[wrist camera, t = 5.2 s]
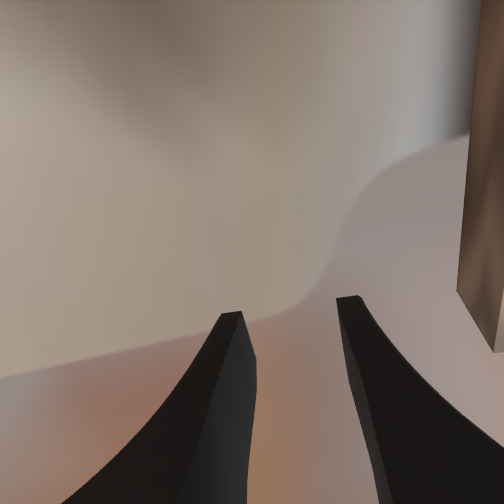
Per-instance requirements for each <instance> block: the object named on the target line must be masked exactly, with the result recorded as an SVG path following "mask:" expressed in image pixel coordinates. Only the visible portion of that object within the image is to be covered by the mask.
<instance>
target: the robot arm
mask: <svg viewBox="0 0 504 504" xmlns="http://www.w3.org/2000/svg"><path fill="white" fill-rule="evenodd" d="M336 301H337V308H338V316H339V323H340V330H341V336H342V343H343V350H344V355H345V362H346V368H347V373H348V379H349V384H350V388H351V391H352V395H353V398H354V402H355V406H356V409H357V412H358V416H359V420H360V424H361V427H362V431H363V434H364V438H365V441H366V445H367V449H368V452H369V456H370V460H371V464H372V469H373V473H374V478H375V484H376V489H377V494H378V500H379V504H504V447H503V446H501V445H500V444H498V443H497V442H496V441H495V440H493V439H492V438H491V437H490V436H488V435H487V434H486V433H485V432H483V431H482V430H481V429H480V428H478V427H477V426H476V425H475V424H473V423H472V422H471V421H470V420H468V419H467V418H466V417H465V416H463V415H462V414H461V413H460V412H459V411H458V410H457V409H455V408H454V407H453V406H452V405H451V404H450V403H449V402H448V401H446V400H445V399H444V398H443V397H442V396H441V395H440V394H439V393H438V392H437V391H436V390H435V389H434V388H433V387H432V386H431V385H429V383H428V382H427V381H426V380H425V379H424V378H422V376H421V375H420V374H419V373H418V372H417V371H416V370H415V369H414V368H413V367H412V366H411V365H410V363H408V361H407V360H406V359H405V358H404V357H403V356H402V355H401V353H400V352H399V351H398V350H397V349H396V347H395V346H394V345H393V344H392V343H391V341H390V340H389V339H388V337H387V336H386V335H385V333H384V332H383V331H382V329H381V328H380V327H379V325H378V324H377V323H376V321H375V320H374V318H373V317H372V315H371V313H370V312H369V310H368V309H367V307H366V305H365V303H364V301H363V299H362V298H361V297H360V296H358V295H356V296H348V297H341V298H336ZM256 389H257V376H256V357H255V354H254V350H253V347H252V344H251V341H250V337H249V334H248V331H247V327H246V324H245V321H244V317H243V314H242V311H237V312H229V313H222V314H221V315H220V317H219V318H218V320H217V322H216V323H215V325H214V327H213V329H212V330H211V332H210V334H209V336H208V337H207V339H206V341H205V342H204V344H203V346H202V348H201V349H200V351H199V352H198V354H197V355H196V357H195V359H194V360H193V362H192V363H191V365H190V366H189V368H188V369H187V371H186V372H185V374H184V375H183V377H182V378H181V379H180V381H179V382H178V384H177V385H176V386H175V388H174V390H173V391H172V392H171V393H170V395H169V396H168V397H167V399H166V400H165V401H164V403H163V404H162V405H161V406H160V408H159V409H158V410H157V411H156V412H155V414H154V415H153V416H152V417H151V419H150V420H149V421H148V422H147V423H146V424H145V425H144V427H143V428H142V429H141V430H140V431H139V432H138V433H137V434H136V435H135V436H134V438H132V439H131V440H130V442H129V443H128V444H127V445H126V446H125V447H124V448H123V449H122V450H121V451H120V452H119V453H118V454H117V455H116V456H115V457H114V458H113V459H112V460H111V461H110V462H109V463H108V464H106V466H104V467H103V468H102V469H101V470H100V471H99V472H98V473H97V474H96V475H95V476H93V477H92V478H91V479H90V480H89V481H88V482H87V483H86V484H84V485H83V486H82V487H81V488H80V489H79V490H77V491H76V492H75V493H74V494H73V495H72V496H70V497H69V498H68V499H66V500H65V501H64V502H63V503H61V504H247V477H248V464H249V455H250V446H251V437H252V428H253V420H254V411H255V402H256V392H257V391H256Z"/></svg>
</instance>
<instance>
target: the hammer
mask: <svg viewBox="0 0 504 504" xmlns="http://www.w3.org/2000/svg"><path fill="white" fill-rule="evenodd" d="M456 291H457V293H458V294H459V296H460V298H461V299H462V301H463V303H464V304H465V306H466V308H467V309H468V311H469V313H470V314H471V316H472V318H473V320H474V321H475V323H476V324H477V326H478V328H479V330H480V331H481V333H482V335H483V336H484V338H485V340H486V341H487V343H488V345H489V346H490V348H491V349H492V351H493V353H498V352H504V0H482V2H481V13H480V25H479V37H478V48H477V60H476V72H475V84H474V95H473V107H472V119H471V130H470V137H469V149H468V160H467V172H466V184H465V195H464V208H463V219H462V231H461V243H460V254H459V266H458V278H457V290H456Z"/></svg>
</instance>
